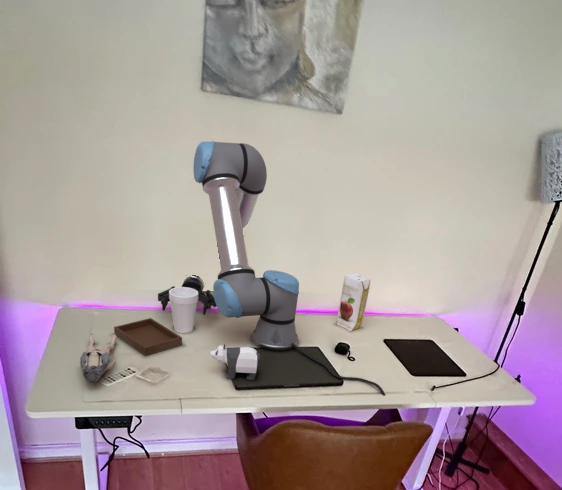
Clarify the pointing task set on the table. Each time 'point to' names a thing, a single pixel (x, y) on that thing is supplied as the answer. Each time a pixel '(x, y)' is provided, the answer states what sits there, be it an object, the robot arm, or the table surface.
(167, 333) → the tray
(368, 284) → the juice carton
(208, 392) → the table surface
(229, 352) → the giant panda
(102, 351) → the anime figure
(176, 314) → the foam cup
